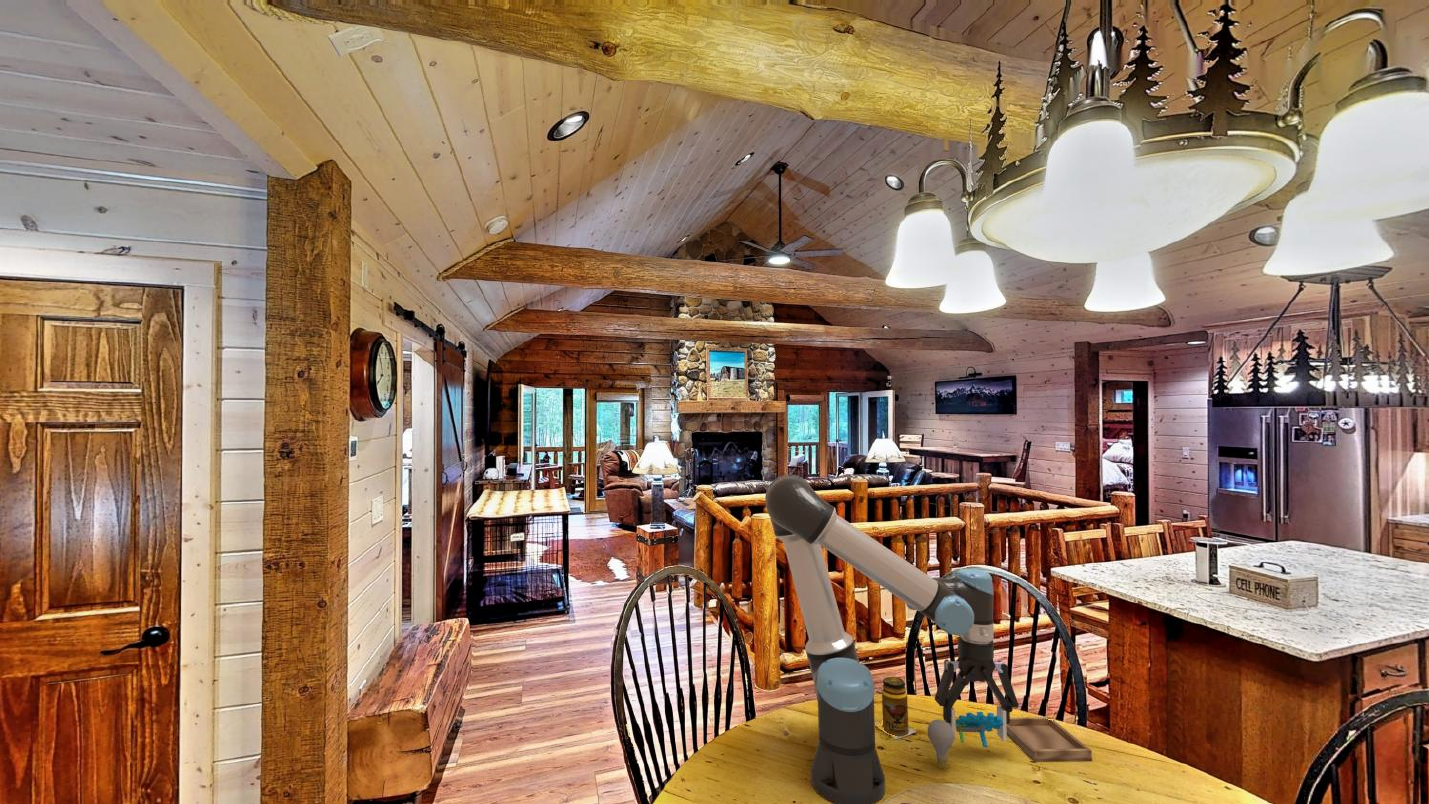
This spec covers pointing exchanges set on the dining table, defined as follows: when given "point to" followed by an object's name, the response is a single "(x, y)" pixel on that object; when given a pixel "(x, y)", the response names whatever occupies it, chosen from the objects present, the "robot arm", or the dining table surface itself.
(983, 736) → the blue and green toy
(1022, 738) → the tray
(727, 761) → the dining table surface
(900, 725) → the condiment
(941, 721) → the light bulb
